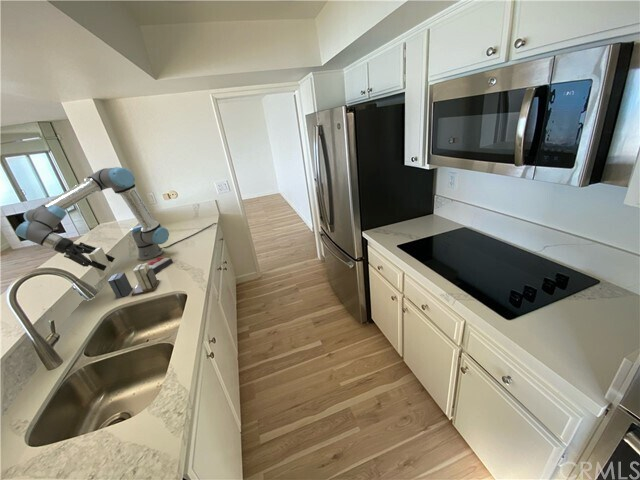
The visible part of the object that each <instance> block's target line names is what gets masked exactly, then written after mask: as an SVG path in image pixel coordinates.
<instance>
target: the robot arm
mask: <svg viewBox="0 0 640 480" xmlns="http://www.w3.org/2000/svg"><path fill="white" fill-rule="evenodd" d="M135 180H136V179H135V175H134V174H133V172H132V171H130V169H128V168H125V167H120V166H115V167H106V168H101V169H99V170H97V171H96V172H94V173H92V174H91V175H89V176H87V177H85V178H84V181H82V182H81V183H78V184H77V185H75V186H73V187H71V188H70V189H68V190H66V191H64V192H62V193H61V194H59V195H57V196H55V197H53V198H51V199H50V200H48V201H47V202H44V203H42V204H41V205H39V206H37V207H36V208H33V209H32V208H31V209H28V210H26V211H24V213H23V219H24V221H23V222H22V223H20V224H19V225H18V226H17V227H16V229H15V235H16V236H18V237H20V238H22V239H25V240H26V241H30V242H31V243H34V244H37V245H40V246H41V247H42V246H43V247H45V248H47V249H50V250H51V251H52V250H54V251H55V252H57V253H60V254H62V255H63V257H64V258H66V259H69V260H71V261H73V262H74V263H76V264H78V265H80V266H81V267H83V268H85V267H87V268H88V267H89V266H90V267H93V268H94V269H95V268H98V269H100V270H103V271H104V270H105V269H106V267H107V266H106V265H103V264H101V263H98V262H96V261H93V260H92V261H91V259H90V258H88V257H87V256H85V255H84V254H87V255H89V254H90V253H91V252H93V251H94V250H95V249H96V248H97V247H95V246H92V245H89V244H86V243H84V242H79V244H77V243H74V240H72V239H71V238H68V237H64V236H63V235H61V234H59V233H56V232H53V230H54V229H55V228H56V227H57V226H58V225H59V224H60V223H61V221H63V220H64V218H65V217H66V216H67V214H68V213H67V211H66V210H69V209H70V208H72V207H73V206H75V205H77V204H78V203H80V202H81V201H84V200H85V199H86V198H88V197H90V196H92V195H93V194H95V193H100V192H102V191H104V190H107V189H112V191H113V192H114V193H115V194H116V195H118V196H120V198H121V199H122V200H123V202H124V203H125V205H126V207H127V208H128V209H129V210H130V212H131V214H132V215H133V216H134V218H135V219H136V221H137V222H138V224H139V225H136V226H134V227H132V228H130V234H131V235H132V238H133V240H134V242H135V245H136V247H137V252H138V253H137V256H138V259H139V260H141V261H148V260H152V259H156V258H158V257H160V256H161V255H162V254H163V253H164V251H163V249H167V248H169V247H172V246H173V245H175V244H178V243H179V242H182V241H185V240H186V239H189V238H191V237H192V236H195V235H197V234H199V233H200V232H202V231H204V230H206V229H208V228H210V227H212V226H213V225H217V224H218V223H217V222H213V223H212V224H209V225H208V226H206V227H205V228H203V229H201V230H199V231H197V232H195V233H193V234H191V235H189V236H186V237H184V238H182V239H179V240H177V241H175V242H173V243H171V244H169V245H167V246H163V247H160V245H163V244H166V243H167V242H168V240H169V238H170V232H169V230H168V229H167V228H166V227H163V226H162V225H161V223H160V222H159V221H156V220H155V219H154V217H153V216H152V214H151V212H150V210H149V209H148V207H147V206H146V205H145V203H144V201H143V200H142V199H141V196H140V195H139V194H138V192H137V191H136V187H137V185H136V183H135ZM105 255H106V257H107V259H108V261H109V263H113V262H114V261H115V259H116V258H115V257H114V256H111V255H109V254H106V253H105Z"/></svg>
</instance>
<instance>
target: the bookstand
mask: <svg viewBox="0 0 640 480" xmlns="http://www.w3.org/2000/svg"><path fill="white" fill-rule="evenodd" d="M148 263H149V262H146V263H145V262H144V263H143V264H142V263H140V264H137V265H136V266H135V268H134V269H133V270H132V271H133V273H134V276H135V278H136V280H137V282H138V284H137V285H136V286H135V288H134V290H133V291H132V292H131V296H132V297H135V296H138V295H139V296H140V295H143V294H148V293H152V292H155V290H156V288H157V286H158V285H159V283H160V279H157V276H156V274H154V271H153V269H152V268H150V267H149V265H148Z"/></svg>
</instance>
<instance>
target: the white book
mask: <svg viewBox="0 0 640 480" xmlns="http://www.w3.org/2000/svg"><path fill="white" fill-rule="evenodd" d="M105 254H106V253H105V251H104V249H103V247H102V246H100V247H96V249H95V250H94V251H93V252H91V253H90V254H87V255H88V257H89V260H90V261H91V262H92V260H93V261H96V262H98V263H101V264H103V265H106V266H107V267H106V269H105V270H104V271H103V270H100V269H98V268H95V267H94V269H95V270H96V272H97V274H98V277H99V278H103V277H106V276H107V274H109V272H111V271H112V269H113V267H112V265H111V262H110V261H108V259H107V257H106V255H105Z"/></svg>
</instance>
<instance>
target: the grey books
mask: <svg viewBox="0 0 640 480" xmlns="http://www.w3.org/2000/svg"><path fill="white" fill-rule="evenodd" d="M107 282H108V284H109V286H110V288H111V290H112V291H113V293H114V296H115V297H116V299H119V298H123V297H127V296H129V295H130V293H131V292H132V290H133V287H132V285H131V282H130V281H129V279H128V277H127V274H126V273H125V272H119V273H115V274H112V276H111V277H110V278H109V279H108V280H107Z"/></svg>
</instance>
